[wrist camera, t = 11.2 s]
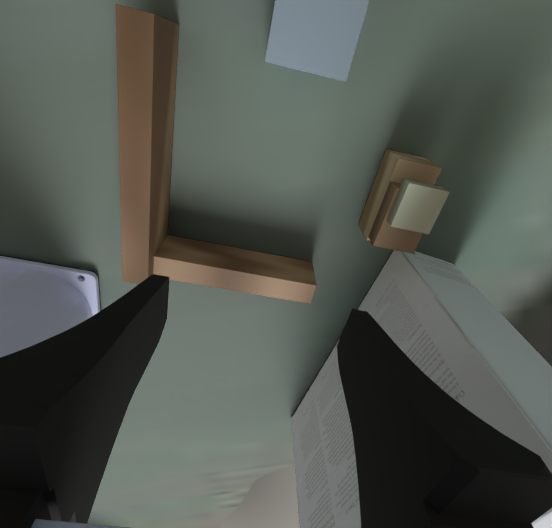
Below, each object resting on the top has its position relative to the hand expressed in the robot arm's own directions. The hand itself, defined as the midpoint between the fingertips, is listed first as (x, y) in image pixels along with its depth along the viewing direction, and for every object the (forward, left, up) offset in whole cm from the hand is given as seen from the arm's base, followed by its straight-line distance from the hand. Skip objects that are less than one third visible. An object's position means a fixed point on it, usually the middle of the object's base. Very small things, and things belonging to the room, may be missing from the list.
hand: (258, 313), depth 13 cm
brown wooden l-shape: (-2, +2, -10) cm, 11 cm away
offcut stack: (+8, +3, -10) cm, 13 cm away
